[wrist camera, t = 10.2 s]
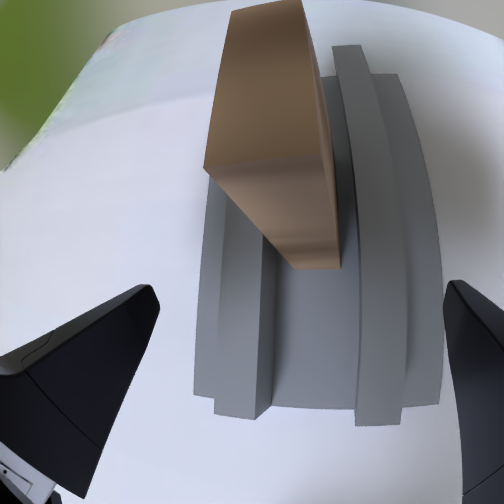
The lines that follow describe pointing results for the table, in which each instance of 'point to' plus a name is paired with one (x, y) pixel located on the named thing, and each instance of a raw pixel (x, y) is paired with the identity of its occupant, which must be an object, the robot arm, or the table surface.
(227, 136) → the plaque
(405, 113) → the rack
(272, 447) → the table surface
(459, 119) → the table surface
